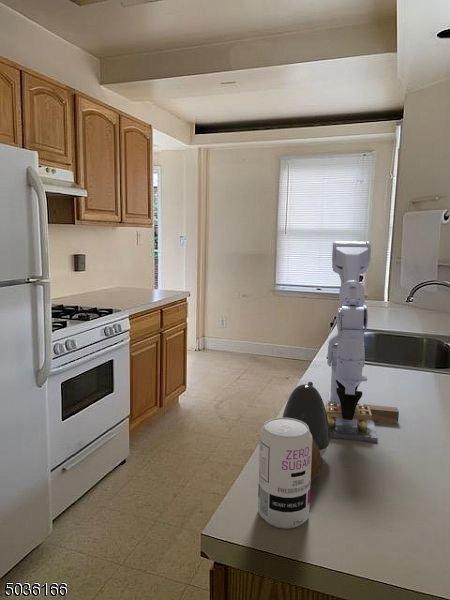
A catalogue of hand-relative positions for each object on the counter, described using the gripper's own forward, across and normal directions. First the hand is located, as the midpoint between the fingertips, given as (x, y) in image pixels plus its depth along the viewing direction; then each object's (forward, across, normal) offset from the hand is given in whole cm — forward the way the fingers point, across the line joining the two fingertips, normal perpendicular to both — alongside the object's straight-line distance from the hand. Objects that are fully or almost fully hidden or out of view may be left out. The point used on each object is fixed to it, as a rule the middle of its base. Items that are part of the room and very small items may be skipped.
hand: (347, 414), depth 102 cm
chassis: (+4, 0, 0) cm, 4 cm away
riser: (+4, +8, -8) cm, 13 cm away
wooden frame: (0, 0, 0) cm, 0 cm away
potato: (+4, -25, +10) cm, 28 cm away
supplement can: (+4, -36, +11) cm, 38 cm away
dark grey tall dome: (+4, -16, +9) cm, 18 cm away
